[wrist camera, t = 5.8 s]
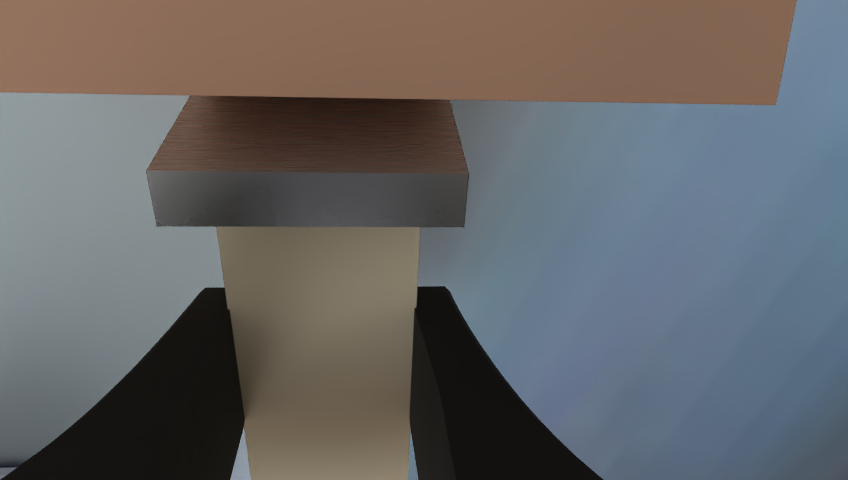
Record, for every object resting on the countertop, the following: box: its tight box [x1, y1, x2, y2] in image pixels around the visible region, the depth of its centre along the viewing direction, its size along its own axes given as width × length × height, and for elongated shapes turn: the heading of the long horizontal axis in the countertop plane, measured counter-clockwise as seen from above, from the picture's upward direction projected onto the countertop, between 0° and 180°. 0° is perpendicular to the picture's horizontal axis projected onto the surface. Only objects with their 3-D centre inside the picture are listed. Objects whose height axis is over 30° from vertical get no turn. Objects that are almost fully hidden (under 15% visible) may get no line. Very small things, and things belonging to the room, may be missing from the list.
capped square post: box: [146, 95, 469, 480], centre depth 13 cm, size 11×4×4 cm, turn 177°
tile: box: [0, 0, 797, 105], centre depth 12 cm, size 2×12×8 cm, turn 87°
